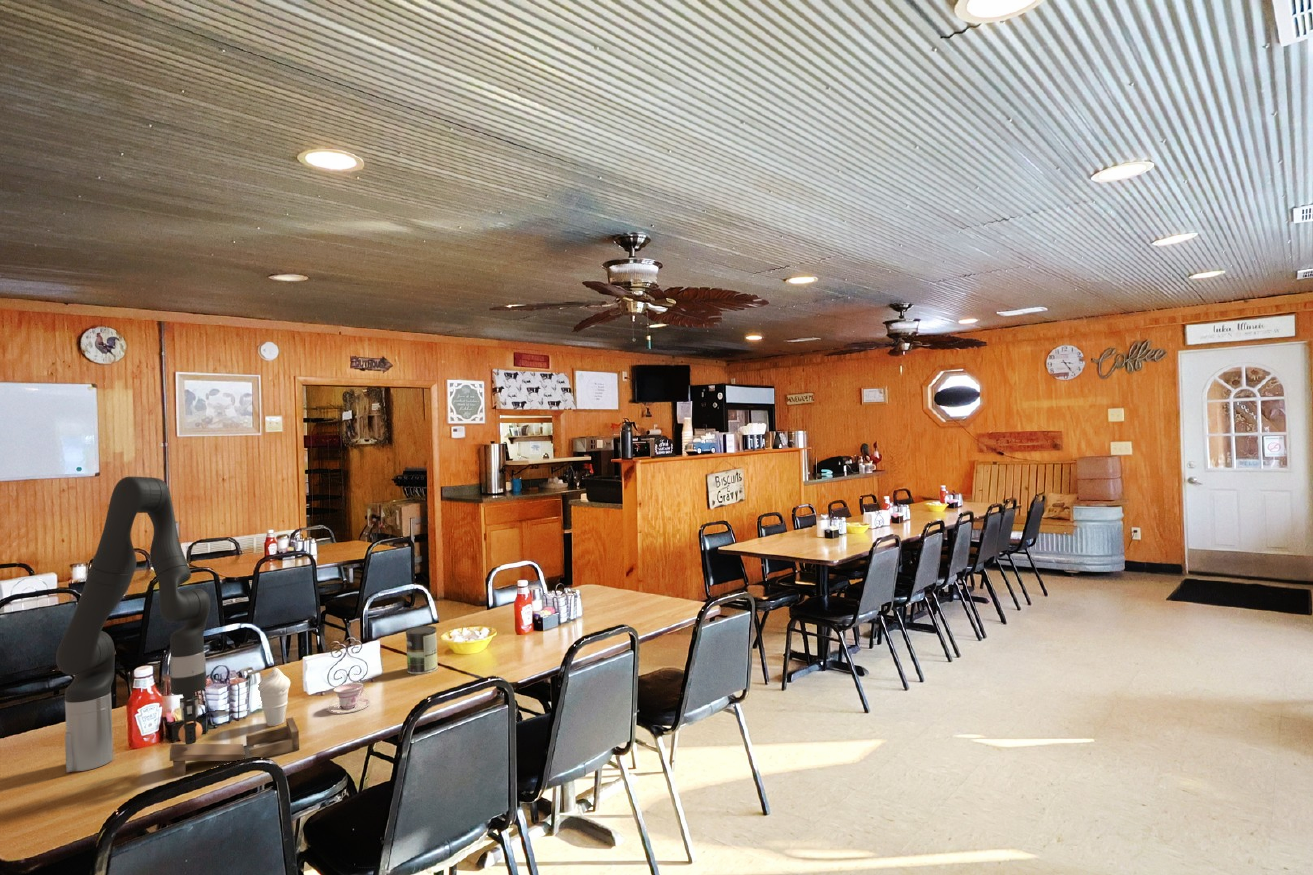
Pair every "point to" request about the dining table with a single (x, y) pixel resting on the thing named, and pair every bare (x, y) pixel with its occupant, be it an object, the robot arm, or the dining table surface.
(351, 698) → the teacup
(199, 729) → the ball
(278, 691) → the soft serve ice cream cone
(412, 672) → the coffee can
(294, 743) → the box
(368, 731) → the dining table surface
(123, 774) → the dining table surface
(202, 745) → the ramp
